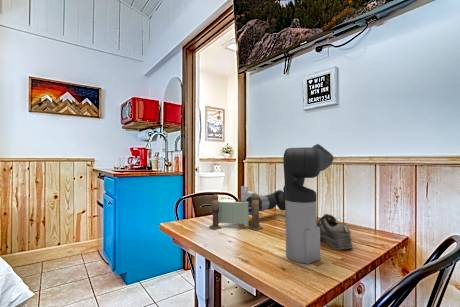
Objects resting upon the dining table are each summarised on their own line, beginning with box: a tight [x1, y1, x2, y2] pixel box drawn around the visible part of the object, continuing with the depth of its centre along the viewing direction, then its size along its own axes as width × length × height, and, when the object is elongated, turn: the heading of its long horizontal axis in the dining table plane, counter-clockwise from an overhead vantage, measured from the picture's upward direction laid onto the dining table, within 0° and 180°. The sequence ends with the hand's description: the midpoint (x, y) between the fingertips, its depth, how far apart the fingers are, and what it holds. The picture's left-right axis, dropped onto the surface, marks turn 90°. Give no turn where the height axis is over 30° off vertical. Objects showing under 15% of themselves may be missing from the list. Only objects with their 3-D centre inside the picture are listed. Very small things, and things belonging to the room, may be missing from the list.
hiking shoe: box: [317, 213, 353, 251], centre depth 91 cm, size 9×21×12 cm, turn 20°
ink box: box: [240, 185, 257, 216], centre depth 139 cm, size 9×5×15 cm, turn 25°
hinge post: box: [248, 192, 263, 231], centre depth 108 cm, size 4×4×15 cm
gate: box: [218, 200, 250, 227], centre depth 111 cm, size 15×2×10 cm, turn 75°
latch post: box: [208, 193, 222, 231], centre depth 110 cm, size 4×4×15 cm
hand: (228, 208), depth 113 cm, fingers closed
